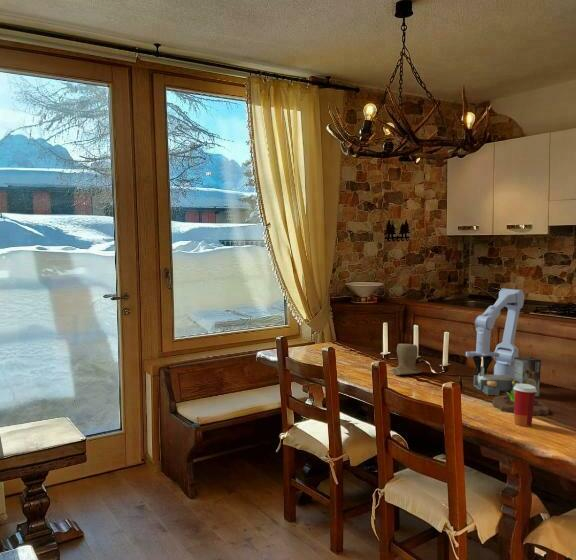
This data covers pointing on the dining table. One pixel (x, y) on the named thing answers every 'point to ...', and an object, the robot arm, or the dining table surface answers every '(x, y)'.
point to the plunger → (492, 384)
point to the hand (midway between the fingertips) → (481, 372)
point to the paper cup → (524, 404)
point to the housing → (501, 386)
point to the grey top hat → (406, 360)
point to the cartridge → (491, 376)
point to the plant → (507, 403)
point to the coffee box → (527, 371)
